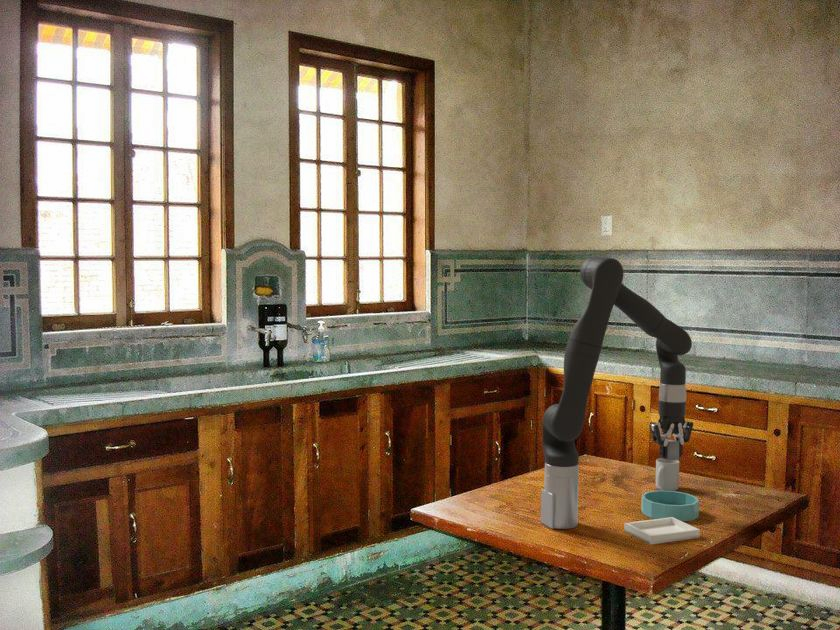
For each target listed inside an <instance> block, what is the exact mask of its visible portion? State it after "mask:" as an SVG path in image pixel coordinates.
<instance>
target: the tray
mask: <svg viewBox="0 0 840 630" xmlns="http://www.w3.org/2000/svg"><path fill="white" fill-rule="evenodd" d="M623 527H624V531H623V532H625V533H627V534H629V535H630V536H633V537H635V538H637V539H639V540H641V541H643V542H645V543H647V544H648V545H656V544H665V543H673V542H679V541H685V540H691V539H692V540H693V539H699V538H700V535H701V529H699V528H697V527H695V526H693V525H691V524H689V523H687V522H685V521H683V522H682V521H680V520H678V519H675V518H673V517H669V518H661V519H653V518H652V519H647V520H638V521H631V522H624V526H623Z"/></svg>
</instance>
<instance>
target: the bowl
mask: <svg viewBox="0 0 840 630" xmlns="http://www.w3.org/2000/svg"><path fill="white" fill-rule="evenodd" d="M640 503H641V509H640V510H641V513H642V515H645V516H646V517H648V518H650V519H652V520H653V519H661V518H669V517H673V518H675V519H678V520H680V521H682V522H690V521H694V520H696V519H698V518H700V517H699V516H700V501H699V499H698V497H697V496H696V495H695V496H694V495H692V494H689V493H687V492H682V491H681V492H680V491H678V490H676V491H664V490H659V489H657V490H653V491H647V492H644V493H643V494H641V502H640Z"/></svg>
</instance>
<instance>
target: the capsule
mask: <svg viewBox="0 0 840 630" xmlns="http://www.w3.org/2000/svg"><path fill="white" fill-rule="evenodd" d="M666 460H678V461H679V460H680V458H679V441H676V440H675V439H669V440H668V443H667V459H666Z"/></svg>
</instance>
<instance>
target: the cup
mask: <svg viewBox="0 0 840 630" xmlns="http://www.w3.org/2000/svg"><path fill="white" fill-rule="evenodd" d="M679 487H680V461H679V460H666V459H663V458H661V457H660V458H657V459H656V460H655V488H656V489H657V490H663V491H678V490H679Z"/></svg>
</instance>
